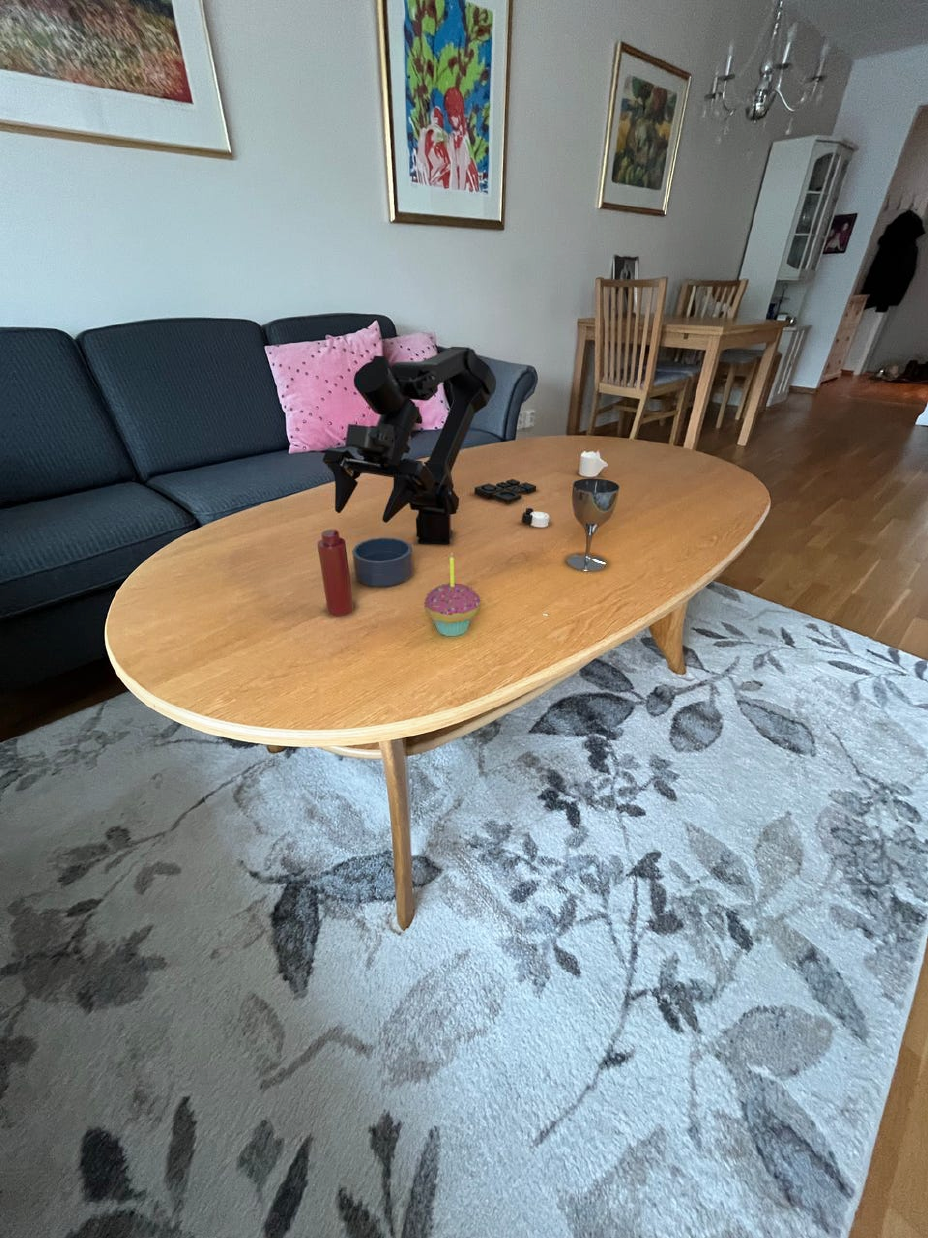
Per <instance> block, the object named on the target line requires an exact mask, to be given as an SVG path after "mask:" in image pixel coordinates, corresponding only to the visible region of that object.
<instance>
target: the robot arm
mask: <svg viewBox="0 0 928 1238" xmlns="http://www.w3.org/2000/svg"><path fill="white" fill-rule="evenodd" d="M446 381H448V383H449V384H450V390H451V394H452V398H453V402H452V404H451V407H450V409H449V411H448V414H447V416H446V418H445V420H444V423H443V425H442V428H441V430H440V432H439V435H438V437H437V440H436V441H435V444H434V447H433V448H432V451H431V454H430V456H429V458H428V460H426V461H423V460H419V459H418V460H417V459H411V458H403V456H404V454H409V452H410V450H411V447H410V446H409V444H408V443H409V440H410V438H411V435H412V432H413V429H414V427H415V424H418V425H422V424H423V416H422V415H421V411H420V407H419V406H416V404H415V402H414V401H422V402H423V401H424V402H426V401H429V400H431V398H433V397H434V396H435V395H436V394H437V393H438V391H439V385H440V384H443V383H444V382H446ZM353 385H354V388H355V390H356V391H358V394H360V396H361V397H362V398H363V400H364V401H365V402H366V404H367V405H368V407H369V408H370V409H371V410H372V412H374V414H377V415H379V418H378V420H377V423H376V425H370V426H368V425H361V424H352V423H348V424H347V429H346V435H345V442H344V445H345V446H346V447H353V448H356V449H357V450H356V453H357V455H359V456H360V457H362V458H363V459H357V458H356V457H355V456H354V454H353V453H352V452H350V450H349V449H342V448H338V447H337V448H336V447H330V448H327V449H326V450H325V452H324V455H323V457H322V460H321V461H322V462H323V464H325V465H326V467H327V469H328V470H329V471H331V473H332V474H333V478H334V487H335V488H334V489H335V490H334V491H335V492H334V511H335V512H336V513H337V514H341V513H342V512H343V510H345V509H344V508H345V507H346V505H347V504H348V502H349V500H350V498H351V497H352V495H353V493H354V492H355V490H356V488H357V487H358V484H359V482H358V481H357V480H356V479H358V478H359V477H360V476H361V474H362V473H364V474H369V475H376V476H381V477H386V478H387V477H389V478H393V485H392V486H393V487H392V489H391V491H390V494H389V496H388V497H389V498H388V500H387V502H386V505H385V508H384V510H383V513H382V518H381V520H382V522H383V523H386V524H387V523H389V521H391V520H392V518H394V517H395V516H396V515H397V514H398V513H400V511H401V510H403V509H404V508H405V507H406V506H407V505H408V504H409V508H410V510H411V511H417V512H418V514H417V515H416V518H415V531H416V538H418V539H417V543H418V544H428V545H429V544H430V545H432V544H433V545H450V544H451V540H452V536H453V530H452V515H456V514H457V513H458V509H459V506H460V498H459V496H458V495H457V494H456V492H455V490H454V485H455V484H454V481H453V476H452V470H453V468H454V465H455V463H456V461H457V459H458V456H459V453H460V451H461V449H462V446H463V444H464V442H465V439H466V436H467V434H468V432H469V429H470V427H471V424H472V422H473V419H474V417H475V415H476V413H478V412H480V411H481V410H482V409H484V408H486V407H487V405H488V404H489V402H490V400H491V399H492V397H493V395H494V393H495V391H496V387H497V379H496V376H495V374H494V373H493V370H492V367H491V366H490V365H489V364H487V362H485V361H484V360H483V359H481V358H480V357H478V355H477V353H476V352H475V349H473V348H471V347H468V346H467V347H466V346H451V347H448V348H447V349H446V350H444V351H441V352H440V353H437V354H435V355H433V356H429V357H428V358H425V359H424V360H420V361H412V360H411V361H410V360H409V361H407V360H406V361H395V362H394V363H392V365H391V363H390V361H389V359H388V357H387V356H386V355H374V356H373V358H372V361H368V362H366V363H365V364H363V365H362V366H361V367H360V368H359V369H358V370H356V372H355V374H354V376H353Z"/></svg>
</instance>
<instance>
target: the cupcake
mask: <svg viewBox="0 0 928 1238" xmlns="http://www.w3.org/2000/svg"><path fill="white" fill-rule="evenodd" d="M448 559H449V583H445V584H441V585H438V586H436V587H435V588H433V589H431V590H430V591H429V592H428V593H427V594H426V596H425V598H424V612H425V614H426V615H427V616H428V617H429V618H430V619H431V620H432V621H433V623H434V625H435V627H436V630H437V632H438V633H439V634H441V635H442V636H446V637H458V636H462V635H463V634H465V633H466V632H467V631H468V628H469V625H470V623H471V621H472V619H474V618H475V617H476V616H477V615H478V614H479V611H480V610H481V606H482V603H481V601H482V600H481V597H480V596H479V594H478V593H477V591H476V590H474V589H473V588H472V587H470V586H468V585H465V584H461V583H456V582H455V558H454V557H453V552H452V551H451V552H450V557H449V558H448Z"/></svg>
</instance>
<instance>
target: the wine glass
mask: <svg viewBox="0 0 928 1238" xmlns="http://www.w3.org/2000/svg"><path fill="white" fill-rule="evenodd" d="M619 492H620V485H619V484H618V483H616V482H615V481H612V480H609V479H604V478H594V477H593V478H592V477H587V478H581V479H578V480H575V481H574V482H573V483H572V494H571V505H572V513H573V516H574V517H575V519H576V521H577V522H578V523H579V524H580V526H581V528H582V529H583V530H584V533H585V552H584V553H578V554H573V555H571V556H569V557H568V558H567V560H566V561H567V565H569V566H570V567H571V568H574V569H576V570H580V571H584V572H585V571H586V572H593V571H599V570H602V569H603V568H605V567H606V562H605V560H604V559H603V558H602V557H599V556H597V555H594V554H590V552H591V546H592V541H593V538H594V535H595V534H596V532H597V531H598V530H599V529H600V528H601V527H602V526H603V525H605V524H606V523H608V521H609V520H610V519H611V518H612V516H613V515H614V511H615V508H616V506H617V502H618V497H619Z"/></svg>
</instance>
